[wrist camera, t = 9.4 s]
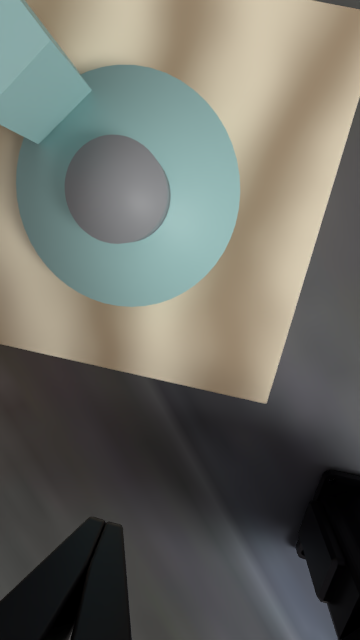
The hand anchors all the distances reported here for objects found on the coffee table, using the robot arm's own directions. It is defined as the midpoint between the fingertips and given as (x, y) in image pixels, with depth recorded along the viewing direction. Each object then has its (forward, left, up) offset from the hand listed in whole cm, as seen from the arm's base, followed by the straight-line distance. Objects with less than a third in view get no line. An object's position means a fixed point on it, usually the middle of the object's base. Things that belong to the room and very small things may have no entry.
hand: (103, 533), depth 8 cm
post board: (+3, -8, -12) cm, 15 cm away
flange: (+5, -10, -10) cm, 15 cm away
